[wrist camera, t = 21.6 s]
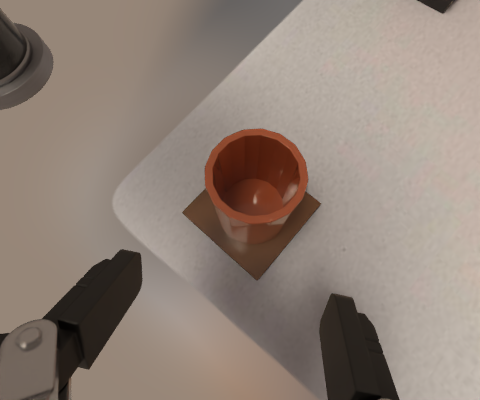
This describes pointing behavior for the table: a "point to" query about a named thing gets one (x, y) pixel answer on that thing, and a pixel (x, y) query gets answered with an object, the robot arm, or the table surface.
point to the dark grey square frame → (438, 4)
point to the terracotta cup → (255, 183)
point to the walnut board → (245, 255)
